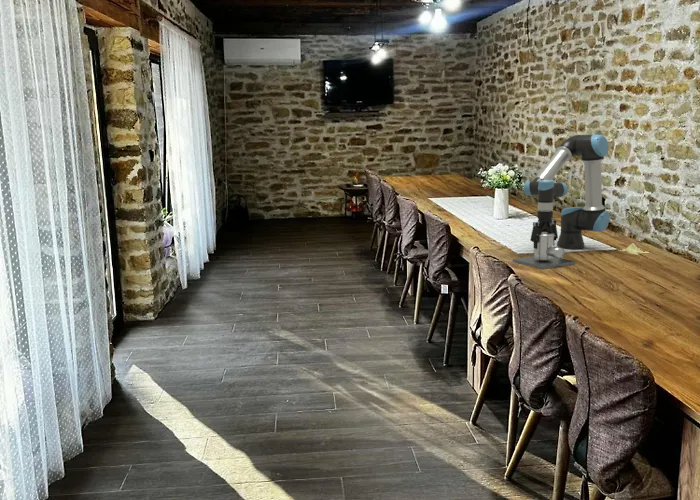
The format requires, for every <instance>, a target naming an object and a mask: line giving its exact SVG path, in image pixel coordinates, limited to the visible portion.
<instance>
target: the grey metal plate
mask: <svg viewBox="0 0 700 500" xmlns="http://www.w3.org/2000/svg"><path fill="white" fill-rule="evenodd" d="M512 262H513V263H516V264H519V263H520V265H524V266H527V267H532V268H535V269H539V270H546V269H555V268H560V267H566V266H572V265H574V266H575V265H576V261H575V260H571V259H566V258H556V257H553V259H552V260H538V259H534V255H531V256H523V257H518V258H517V257H516V258H513V259H512Z"/></svg>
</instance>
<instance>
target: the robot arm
mask: <svg viewBox="0 0 700 500" xmlns="http://www.w3.org/2000/svg"><path fill="white" fill-rule="evenodd" d="M608 151H609V142H608V140H607V138H606V136H605V135H603V134H575V135H572V136H570V137H568V138H566V139H565V140H564V141H562V142H561V143H560V144H559V145H558V146H557V147H556V149H555V151H554V152H555V153H554V154H553V155H552V156H551V158H550V159H549V161H547V163H546V164H545V165H544V167H542V169H541V170H540V171H539V172H538V173H537V175H536V176H535V178H534V179H533V180H530V181H526V182H525V183H524V184H523V192H524V194H525V195H526V196H530V197H537V214H536V215H537V216H536V217H537V221H533V222H532V231H531V235H530V242H532V243H533V249H534V250H533V255H534V254H535V255H539V242H538V241H539V235H541V233H542V231H543V230H544V229H545V228H546V229H547V232H548V233H554V234H555V236H554V242H553V247H555V241H557V242H556V247H557V246H558V247H557V248H562V249H567V250H568V249H569V250H570V249H571V250H572V249H573V250H576V249H583V248H585V242H584V238H583V233H582V232H583V231H588V232H594V233H596V232H597V233H598V232H603V231H605V230H606V229H607V227H608V225H609V223H610V219H611V217H610V216H611V215H610V213H609V212H608V211H606V207H605V205H603V196H602V195H603V193H602V191H603V190H602V189H603V188H602V161H603V160H604V159H605V156H607V155H608ZM574 157H580V160H581V162H582V163H584V165H583V167H584V168H583V170H584V198H585V199H584V201H585V203H584V204H585V205H584V206H574V207H573V206H571V207H564V208H562V209H561V213H560V234H559V235H558V230H557V229H558V228H557V220H556V219H553V218H554V211H553V210H554V199H555V198H561V197H565V196H566V195H567V193H568V190H569V189H568V185H567V184H566V183H564V182H561V181H558V182H554V180H553V179H554V178H555V176H556V175H557V174H558V172H559V171H560V170H561V169H562V167H564V165H565V164H566V163H567V162H568V161H570V160H571V159H572V158H574Z"/></svg>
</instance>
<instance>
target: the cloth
mask: <svg viewBox="0 0 700 500" xmlns="http://www.w3.org/2000/svg"><path fill="white" fill-rule="evenodd" d="M621 249H622V250H621ZM621 249H620V250H619V249H618V250H617V251H619V252H627V253H628V254H630V255H636V256H637V255H639V254H642V253H649V251H645V252H643V251H644V250H642V249H641V248H638V247H637V245H635V243H630V245H628V246H627V247H626V248H621ZM640 249H641V250H640Z"/></svg>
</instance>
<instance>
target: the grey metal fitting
mask: <svg viewBox="0 0 700 500" xmlns="http://www.w3.org/2000/svg"><path fill="white" fill-rule="evenodd" d="M554 236H555V234H554V233H548V232H542V233H541V235H539V241H538V242H539V255H535V254H534V253H533V256H534V259H538V260H552V259H553V257H556V258H562V259H564V257H565V254H566V250H565V248H560V247H557V246H554V247H553V242H554ZM554 243H555V242H554Z"/></svg>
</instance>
